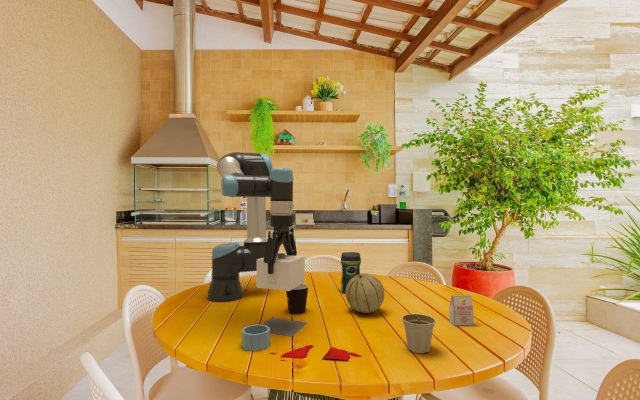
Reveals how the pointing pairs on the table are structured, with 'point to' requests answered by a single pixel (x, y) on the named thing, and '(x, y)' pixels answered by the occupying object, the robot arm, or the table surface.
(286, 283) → the cover
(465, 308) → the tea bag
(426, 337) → the flower pot
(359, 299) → the cantaloupe
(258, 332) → the bowl
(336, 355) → the cloth
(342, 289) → the coffee jar
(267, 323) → the mat
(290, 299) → the coffee mug
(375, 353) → the table surface
